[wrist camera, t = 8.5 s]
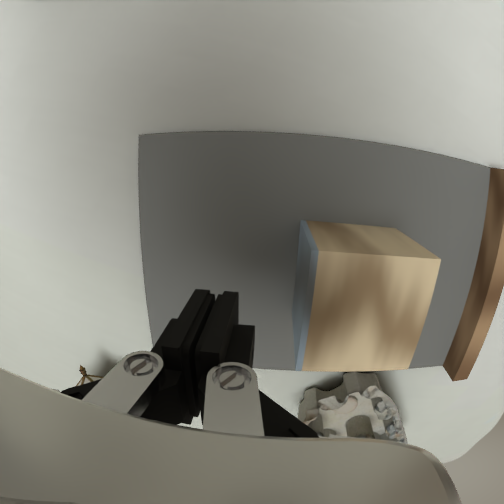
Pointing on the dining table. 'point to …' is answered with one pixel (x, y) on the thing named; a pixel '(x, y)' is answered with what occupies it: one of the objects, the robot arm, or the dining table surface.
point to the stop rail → (481, 286)
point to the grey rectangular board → (296, 223)
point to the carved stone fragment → (353, 410)
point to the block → (359, 297)
